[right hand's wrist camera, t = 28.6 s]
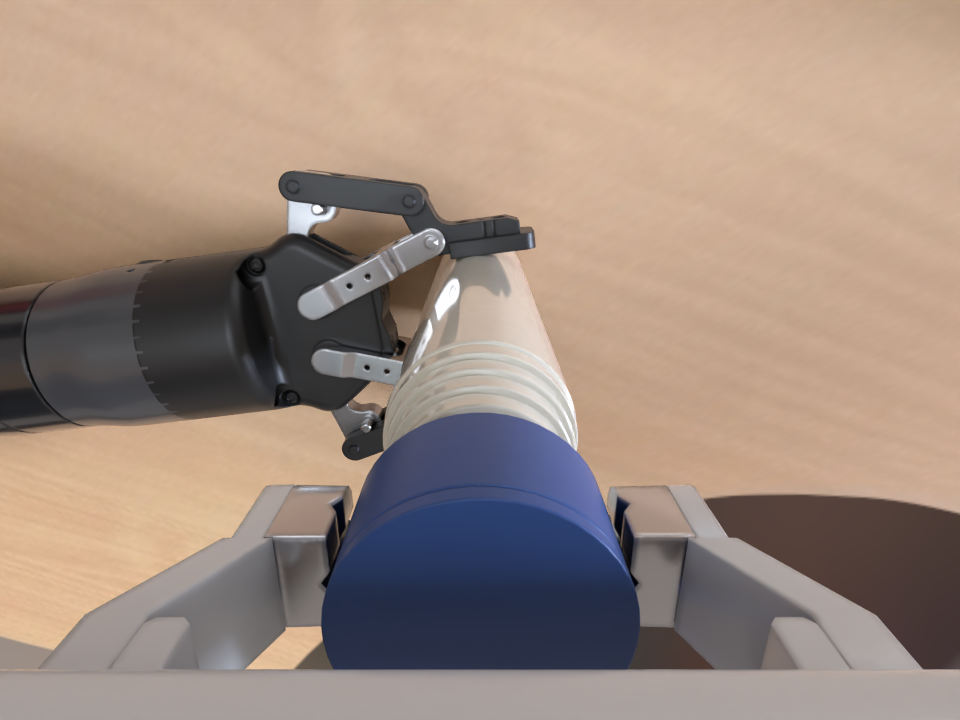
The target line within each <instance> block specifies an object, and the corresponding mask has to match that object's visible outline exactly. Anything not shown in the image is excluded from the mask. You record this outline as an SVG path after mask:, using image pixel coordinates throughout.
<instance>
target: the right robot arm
mask: <svg viewBox="0 0 960 720" xmlns="http://www.w3.org/2000/svg"><path fill="white" fill-rule="evenodd" d="M607 508H608V511H609V514H610V517H611V523H612V526H613V529H614V532H615V534H616V537H617V540H618V543H619V546H620V548H621V551H622V554H623V557H624V560H625V562H626V565H627V568H628V571H629V573H630V577H631V579H632V582H633V585H634V587H635V590H636V593H637V598H638V603H639V608H640V626H648V627H675V628H674V630H675V631H676V632H677V633H678V634H679V635H680V636H682V637H683V638H684V639H685V640H686V641H687V642H688V643H689V644H690V645H691V646H692V647H693V648H694V649H695V650H696V651H697V652H698V653H699V654H700V655H701V656H702V657H703V658H704V659H705V660H707V662H709V663H710V664H711V665H712V666H713V667H714V668H715V669H716V670H244V669H246V668H247V667H248V666H249V665H250V664H251V663H252V662H253V661H254V660H255V659H256V658H257V657H258V656H259V655H260V654H261V653H262V652H263V651H264V650H265V649H266V648H267V647H268V646H270V645H271V644H272V643H273V642H274V641H275V640H276V639H277V638H278V637H279V636H280V635H281V634H282V633H283V632H284V631H285V630H286V629H285V627H311V626H321V614H322V605H323V600H324V596H325V591H326V589H327V586H328V583H329V580H330V578H331V575H332V572H333V569H334V566H335V563H336V560H337V558H338V555H339V552H340V549H341V546H342V544H343V541H344V538H345V535H346V532H347V529H348V527H349V524H350V520H349V517H350V514H351V511H352V509H353V499H352V491H351V489H350V487H349V486H322V485H296V486H295V485H269V486H266V487H265V488H264V489H263V491H262V492H261V494H260V495H259V497H258V498H257V500H256V501H255V503H254V504H253V506H252V507H251V509H250V510H249V512H248V513H247V515H246V516H245V518H244V519H243V521H242V523H241V524H240V526H239V527H238V529H237V530H236V532H235V533H234V535H233V536H232V538H222V539H220V540H218V541H217V542H215V543H213V544H211V545H209V546H208V547H206V548H204V549H202V550H200V551H199V552H197V553H195V554H193V555H191V556H190V557H188V558H186V559H184V560H182V561H181V562H179V563H177V564H175V565H173V566H172V567H170V568H168V569H166V570H164V571H163V572H161V573H159V574H157V575H155V576H154V577H152V578H150V579H148V580H146V581H145V582H143V583H141V584H139V585H137V586H136V587H134V588H132V589H130V590H128V591H127V592H125V593H123V594H121V595H119V596H118V597H116V598H114V599H112V600H110V601H109V602H107V603H105V604H103V605H101V606H100V607H98V608H96V609H94V610H92V611H91V612H89V613H87V614H85V615H84V616H83V617H82V619H81V620H80V621H79V622H78V623H77V624H76V625H75V627H74V628H73V629H72V630H71V631H70V632H69V633H68V635H67V636H66V637H65V638H64V639H63V640H62V642H61V643H60V644H59V645H58V646H57V647H56V648H55V650H54V651H53V652H52V653H51V654H50V655H49V657H48V658H47V659H46V660H45V661H44V662H43V664H42V665H41V666H40V667H39V668H38V669H0V720H960V670H923V669H922V668H921V667H920V666H919V664H918V663H917V662H916V661H915V660H914V659H913V658H912V656H911V655H910V654H909V653H908V652H907V651H906V649H905V648H904V647H903V646H902V645H901V644H900V642H899V641H898V640H897V639H896V638H895V637H894V635H893V634H892V633H891V632H890V631H889V630H888V629H887V627H886V626H885V625H884V624H883V623H882V622H881V620H880V619H879V618H878V617H877V616H876V615H874V614H873V613H871V612H869V611H867V610H865V609H864V608H862V607H860V606H858V605H856V604H855V603H853V602H851V601H849V600H847V599H846V598H844V597H842V596H840V595H838V594H837V593H835V592H833V591H831V590H830V589H828V588H826V587H824V586H822V585H820V584H819V583H817V582H815V581H813V580H812V579H810V578H808V577H806V576H804V575H803V574H801V573H799V572H797V571H795V570H794V569H792V568H790V567H788V566H786V565H785V564H783V563H781V562H779V561H777V560H776V559H774V558H772V557H770V556H769V555H767V554H765V553H763V552H761V551H760V550H758V549H756V548H754V547H752V546H751V545H749V544H747V543H745V542H743V541H741V540H740V539H738V538H728V536H727V535H726V533H725V532H724V530H723V529H722V527H721V526H720V524H719V523H718V521H717V520H716V518H715V517H714V515H713V514H712V512H711V511H710V509H709V508H708V506H707V505H706V503H705V502H704V500H703V499H702V497H701V496H700V494H699V493H698V491H697V490H696V488H695V487H694V486H692V485H690V484H688V485H664V486H628V487H610V489H609V493H608V499H607Z"/></svg>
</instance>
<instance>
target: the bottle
mask: <svg viewBox="0 0 960 720" xmlns="http://www.w3.org/2000/svg"><path fill="white" fill-rule="evenodd" d="M474 412H475V413H478V412H480V413H497V414H505V415H510V416H514V417H518V418H522V419H525V420H528V421H530V422H533V423H535V424H538V425H540V426H542V427H544V428H546V429H548V430H550V431H551V432H553V433H555V434H556V435H558V436H559V437H560V438H562V439H563V440H565V441H566V442H567V443H568V444H569V445H570V446H571V447H572V448H574V449H575V450H576V451H577V447H578V429H577V423H576V414H575V408H574V405H573V401H572V398H571V395H570V393H569V390H568V387H567V385H566V382H565V379H564V377H563V374H562V372H561V369H560V366H559V364H558V361H557V358H556V356H555V353H554V350H553V348H552V345H551V342H550V340H549V337H548V335H547V332H546V329H545V327H544V324H543V321H542V319H541V316H540V313H539V311H538V308H537V306H536V303H535V300H534V298H533V295H532V292H531V290H530V287H529V284H528V282H527V279H526V276H525V274H524V271H523V269H522V266H521V263H520V261H519V258H518V256H517V254H516V252H515V251H512V252H504V253H497V254H489V255H482V256H472V257H467V258H459V259H452V260H451V258H450V254H446V255H443V257H442V259H441V262H440V265H439V267H438V270H437V273H436V275H435V278H434V280H433V283H432V286H431V288H430V291H429V294H428V296H427V299H426V302H425V304H424V307H423V310H422V312H421V315H420V318H419V320H418V323H417V326H416V328H415V331H414V334H413V336H412V339H411V342H410V344H409V347H408V350H407V352H406V355H405V358H404V360H403V363H402V366H401V368H400V371H399V374H398V376H397V379H396V382H395V384H394V387H393V390H392V392H391V395H390V398H389V401H388V404H387V408H386V414H385V422H384V429H383V448H384V451H385V450H387V449H388V448H389V447H390V446H391V445H392V444H393V443H394V442H395V441H397V440H398V439H399V438H401V437H402V436H404V435H405V434H407V433H408V432H410V431H412V430H413V429H415V428H417V427H419V426H421V425H423V424H426V423H428V422H431V421H434V420H436V419H439V418H443V417H447V416H451V415H456V414H464V413H474Z"/></svg>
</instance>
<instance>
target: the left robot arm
mask: <svg viewBox="0 0 960 720" xmlns="http://www.w3.org/2000/svg"><path fill="white" fill-rule="evenodd" d="M279 190H280V193H281V194H282V196H283V197H284V198H285V199H287V234H286V235H284V236H282V237H280V238H279V239H278V240H277V241H275V242H274V243H273V244H272V245H270V246H267V247H262V248H255V249H247V250H240V251H233V252H225V253H218V254H210V255H203V256H196V257H188V258H181V259H173V260H166V261H163V260H148V261H141V262H139V263H137V264H136V265H129V266H122V267H116V268H110V269H105V270H101V271H97V272H93V273H90V274H87V275H84V276H80V277H76V278H72V279H67V280H59V281H52V282H45V283H37V284H30V285H22V286H15V287H8V288H2V289H0V436H14V435H25V434H33V433H42V432H50V431H59V430H67V429H75V428H83V427H92V426H102V425H113V426H140V425H151V424H159V423H168V422H176V421H184V420H193V419H202V418H210V417H218V416H226V415H234V414H243V413H251V412H259V411H268V410H276V409H282V408H287V407H291V406H296V405H306V406H311V407H315V408H317V409H320V410H324V411H331V412H332V414H333V416H334V417H335V419H336V421H337V423H338V425H339V427H340V428H341V430H342V432H343V434H344V436H345V438H346V439H345V441H344V443H343V446H342V451H343V454H344V455H345V456H346V457H347V458H348V459H351V460H360V459H363V458H366V457H369V456H371V455H374V454H377V453H379V452H382V451H384V448H383V429H384V422H385V414H386V408H387V407H385V408H383V409H382V408H381V407H380V406H379V405H378V404H375V403H368V404H360V403H357V402H356V401H354V400H353V398H354V397H355V396H356V395H357V394H358V393H360V392H361V391H362V390H363V389H364V388H365V387H366V386H367V385H368V384H369V383H370V382H371V381H374V382H380V383H385V384H390V385H394V384H395V382H396V379H397V376H398V374H399V371H400V368H401V366H402V363H403V360H404V358H405V355H406V352H407V350H408V347H409V344H410V342H411V339H412V338H407V337H401V336H398V331H397V326H396V323H395V321H394V319H393V317H392V315H391V313H390V311H389V301H390V289H389V284H388V282H390V281H392V280H393V279H395V278H397V277H398V276H400V275H401V274H403V273H404V272H406V271H408V270H410V269H412V268H414V267H416V266H418V265H420V264H422V263H424V262H426V261H428V260H429V259H431V258H433V257H435V256H439V255H446V254H450V258H451V260H452V259H459V258H467V257H472V256H482V255H489V254H497V253H504V252H512V251H519V250H527V249H532V248H535V247H536V246H535V236H534V230H533V229H532V227H520V225H519V220H518V218H517V217H513V216H509V215H498V216H491V217H484V218H476V219H469V220H461V221H454V222H450V221H446V220H444V219H442V218H441V217H440V216H439V215H438V214H437V213H436V211H435V209H434V207H433V205H432V203H431V201H430V200H429V195H428V192H427V190H426V189H425V188H424V187H423V186H422V185H420V184H416V183H408V182H400V181H392V180H385V179H377V178H369V177H361V176H353V175H346V174H338V173H330V172H322V171H314V170H298V171H289V172H286V173H284V174H283V175H282V176H281V178H280V180H279ZM340 208H347V209H355V210H363V211H371V212H378V213H386V214H394V215H402V216H403V218H404V220H405V222H406V224H407V225H408V227H409V229H410V231H411V233H409V234H408V235H406V236H404V237H402V238H400V239H398V240H395V241H393V242H391V243H389V244H387V245H385V246H383V247H381V248H380V249H378V250H376V251H374V252H372V253H370V254H368V255H366V256H364V257H362V258H361V257H359V256H357V255H355V254H353V253H351V252H349V251H347V250H345V249H343V248H341V247H340V246H338V245H336V244H334V243H332V242H330V241H328V240H326V239H324V238H322V237H320V236H318V235H317V234H315V233H314V229H315V227H316V225H317V224H318V223H321V222H328V221H330V220H332V219H334V218H336V217H337V216H338V215H339V213H340ZM396 348H397V349H396ZM387 369H388V370H387Z"/></svg>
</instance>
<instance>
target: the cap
mask: <svg viewBox="0 0 960 720" xmlns="http://www.w3.org/2000/svg"><path fill="white" fill-rule="evenodd" d="M321 628H322V637H323V643H324V646H325V650H326V653H327V656H328V659H329V661H330V663H331V665H332V667H333V669H334V670H628V668H629V666H630V664H631V662H632V660H633V658H634V654H635V651H636V648H637V644H638V639H639V632H640V608H639V603H638V598H637V593H636V590H635V587H634V585H633V582H632V579H631V577H630V573H629V571H628V568H627V565H626V562H625V560H624V557H623V554H622V551H621V548H620V546H619V543H618V540H617V537H616V534H615V532H614V529H613V526H612V523H611V520H610V518H609V515H608V512H607V509H606V506H605V504H604V501H603V498H602V495H601V493H600V490H599V487H598V485H597V482H596V480H595V477H594V475H593V474H592V472H591V470H590V468H589V467H588V465H587V464H586V462H585V461H584V460H583V458H582V457H581V456H580V455H579V453H578V452H577V451H576V450H575V449H574V448H572V447H571V446H570V445H569V444H568V443H567V442H566V441H565V440H563V439H562V438H560V437H559V436H558V435H556V434H555V433H553V432H551V431H550V430H548V429H546V428H544V427H542V426H540V425H538V424H535V423H533V422H530V421H528V420H525V419H522V418H518V417H514V416H510V415H505V414H497V413H480V412H478V413H475V412H474V413H464V414H456V415H451V416H447V417H443V418H439V419H436V420H434V421H431V422H428V423H426V424H423V425H421V426H419V427H417V428H415V429H413V430H412V431H410V432H408V433H407V434H405V435H404V436H402V437H401V438H399V439H398V440H397V441H395V442H394V443H393V444H392V445H391V446H390V447H389V448H388V449H387V450H385V451H384V453H383V454H382V455H381V456H380V457H379V459H378V460H377V461H376V462H375V464H374V465H373V467H372V469H371V470H370V472H369V474H368V475H367V478H366V480H365V483H364V485H363V487H362V490H361V493H360V496H359V499H358V501H357V504H356V507H355V510H354V513H353V515H352V518H351V521H350V524H349V527H348V529H347V532H346V535H345V538H344V541H343V544H342V546H341V549H340V552H339V555H338V558H337V560H336V563H335V566H334V569H333V572H332V575H331V578H330V580H329V583H328V586H327V589H326V591H325V596H324V600H323V605H322V614H321Z"/></svg>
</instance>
